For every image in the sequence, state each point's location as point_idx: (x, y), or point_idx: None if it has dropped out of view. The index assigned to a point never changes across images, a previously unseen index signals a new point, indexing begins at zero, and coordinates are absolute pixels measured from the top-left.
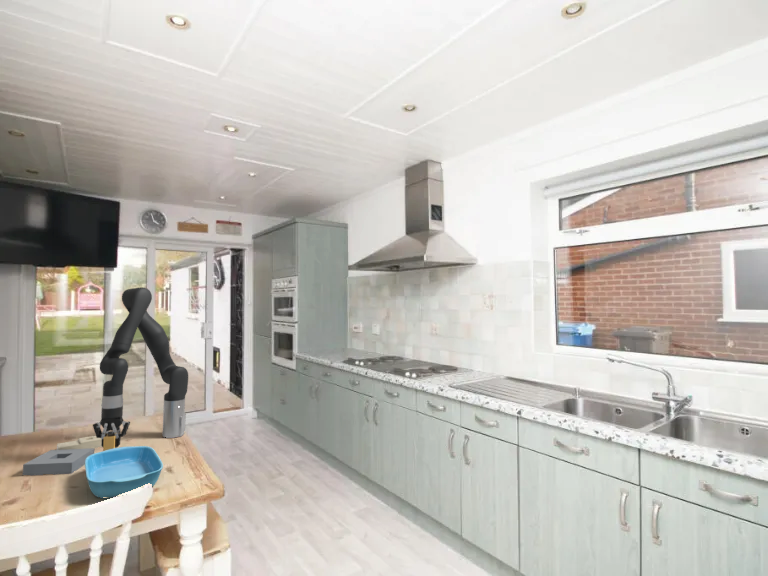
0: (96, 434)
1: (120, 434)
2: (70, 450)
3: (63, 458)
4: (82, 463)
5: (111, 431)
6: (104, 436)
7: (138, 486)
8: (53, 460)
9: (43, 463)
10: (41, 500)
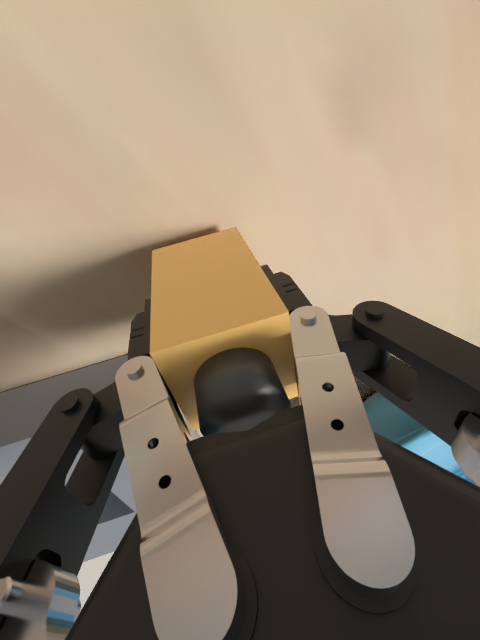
0: (89, 477)
1: (352, 367)
2: (10, 466)
3: (133, 514)
4: (194, 437)
5: (231, 407)
6: (183, 420)
7: (466, 479)
8: (112, 533)
9: (107, 551)
10: None
